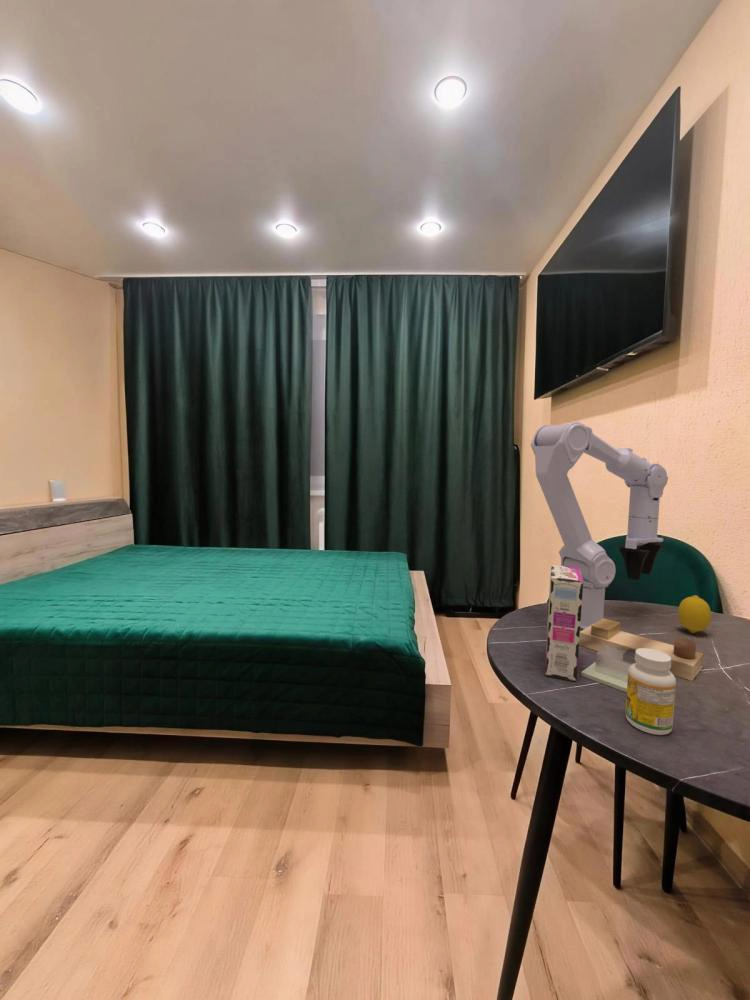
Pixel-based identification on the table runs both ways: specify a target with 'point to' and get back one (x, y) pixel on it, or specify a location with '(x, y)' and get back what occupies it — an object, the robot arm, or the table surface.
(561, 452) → the robot arm
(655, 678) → the supplement bottle
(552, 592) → the candy bar box
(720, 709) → the table surface
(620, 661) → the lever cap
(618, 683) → the felt mat
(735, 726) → the table surface
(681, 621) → the lemon
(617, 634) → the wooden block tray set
